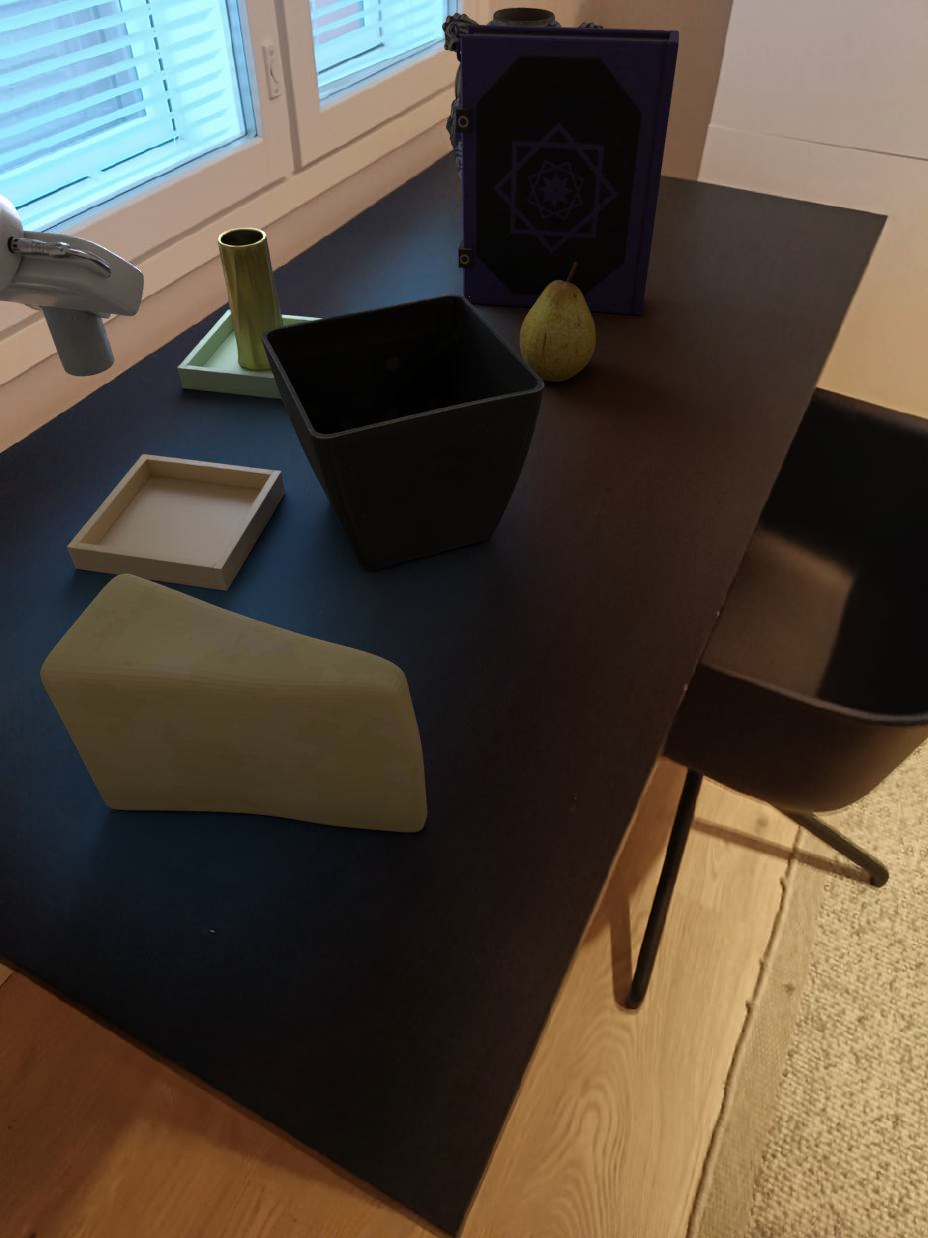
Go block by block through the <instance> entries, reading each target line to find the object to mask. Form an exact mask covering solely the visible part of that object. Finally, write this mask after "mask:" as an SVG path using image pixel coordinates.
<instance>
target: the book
mask: <svg viewBox="0 0 928 1238" xmlns="http://www.w3.org/2000/svg"><path fill="white" fill-rule="evenodd" d="M679 46H680V31H679V30H676V29H675V30H674V29H673V30H672V29H670V30H664V29H642V28H641V29H640V28H637V29H636V28H607V27H606V28H605V27H603V28H577V27H574V26H573V27H572V26H562V27H541V26H506V25H487V24H479V25H472V24H468V34H461V52H460V53H461V103H460V104H459V106H458V108H457V109H456V124H457V132H459V133H462V183H461V192H462V193H461V195H462V196H461V197H462V198H461V199H462V200H461V201H462V202H461V203H462V205H461V206H462V208H461V209H462V240H461V242H460V245H459V247H458V250H457V251H458V254H457V255H458V257H457V259H458V268H459V269H462V283H463V284H462V285H463V286H462V289H463V291H462V293H463V294H462V296H463V295H464V297H465V298H466V299H467V300H468V301H469V302H470V303H471V304H475V305H488V306H489V305H490V306H501V307H502V306H504V307H517V308H519V307H520V308H530V309H531V308H532V307H533V305H534V304H535V302H536V301H537V300H538V298H539V297H540V295H541V294H542V292H543V291H544V289H545V288H546V287H547V286H548V285H549V284H550V283H552V282H553V281H556V280H561V281H565V282H566V280H567V278H568V276H569V274H570V272H571V269H572V266H573V263H574V262H578V263H579V265H578V266H577V267H576V270H575V273H574V275H573V276H572V278H571V281H570V283H572V284H574V285H575V286H577V287H578V288H579V289H580V291H581V292H582V294H583V297H584V299H585V301H586V304H587V306H588V308H589V310H590V313H601V314H602V313H603V314H616V315H617V314H618V315H631V314H632V315H634V316H642V314H643V309H644V300H645V293H646V287H647V279H648V272H649V265H650V264H649V263H650V258H651V257H650V256H651V252H652V251H651V250H652V244H653V235H654V229H655V222H656V221H655V220H656V214H657V205H658V198H659V191H660V184H661V177H662V169H663V162H664V155H665V147H666V140H667V133H668V126H669V118H670V111H671V104H672V97H673V90H674V83H675V74H676V67H677V59H678V52H679ZM469 296H470V297H469Z"/></svg>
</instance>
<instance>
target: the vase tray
mask: <svg viewBox="0 0 928 1238" xmlns="http://www.w3.org/2000/svg"><path fill="white" fill-rule="evenodd" d="M281 315H282V319H283V324H284V326H287V325H292V324H297V323H302V322H307V321H313V320H318V319H323V318H320V317H311V316H299V315H290V314H289V315H288V314H281ZM176 368H177V373H178V377H179V380H180V383H181V387H182V389H186V390H187V389H188V390H195V391H207V392H215V393H223V394H231V395H241V396H251V397H259V398H268V399H277V400H282V398H281V395H280V392H279V390H278V387H277V384H276V381H275V379H274V376H273V373H272V370H271V369H270V370H251V369H247V368H245V367H243V366H241V365H240V364H239V362H238V350H237V343H236V337H235V331H234V327H233V322H232V317H231V311H230V309H227V310H226V311H225V313H223V315H222V316H221V317H220V318H219V320H217V322H216V323H215V324H214V325H213V326H212V328H211V329H210V330H209V331H208V332H207V333H206V334H205V336H204V337H203V338H202V339H201V340H200V341H199V343H197V344H196V346H195V347H194V348H193V349H192V350H191V352H190V353H189V354H188V355H187V356H186V357H185V358H184V360H182V362H181V363H180V364H179V365H178V366H177V367H176Z"/></svg>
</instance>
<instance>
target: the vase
mask: <svg viewBox="0 0 928 1238" xmlns="http://www.w3.org/2000/svg"><path fill="white" fill-rule="evenodd" d="M217 246H218V251H219V257H220V261H221V267H222V273H223V277H224V281H225V286H226V292H227V299H228V305H229V310H230V311H231V317H232V322H233V327H234V331H235V337H236V343H237V350H238V362H239V364H240V365H241V366H243V367H245V368H247V369H251V370H270V369H271V367H270V364H269V361H268V358H267V355H266V352H265V349H264V346H263V342H262V339H261V334H262V333H263V332H264V331H266V330H269V329H273V328H277V327H282V326H284V324H283V319H282V315H283V314H282V311H281V306H280V301H279V296H278V292H277V291H278V290H277V287H276V282H275V277H274V271H273V266H272V260H271V254H270V247H269V243H268V237H267V234H266V232H265V231H263V230H262V229H259V228H253V227H237V228H231V229H228V230H226V231H223V232H222V233H221V234H219V236H218V237H217Z"/></svg>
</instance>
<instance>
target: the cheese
mask: <svg viewBox="0 0 928 1238" xmlns="http://www.w3.org/2000/svg"><path fill="white" fill-rule="evenodd" d="M39 674H40V679H41V683H42V685H43V687H44V689H45V691H46V693H47V694H48V696H49V698H50V700H51V703H52V705H53V706H54V708H55V710H56V712H57V714H58V717H60V719H61V721H62V723H63V725H64V727H65V729H66V731H67V733H68V735H69V736H70V738H71V740H72V742H73V744H74V746H75V748H76V750H77V752H78V753H79V756H80V758H81V759H82V761H83V764H84V766H85V767H86V770H87V772H88V773H89V776H90V778H91V779H92V782H93V783H94V786H95V787H96V789H97V791H98V793H99V795H100V796H101V798H102V800H103V802H104V804H105V805H106V806H107V807H108V808H110V809H111V810H117V811H118V810H119V811H121V810H122V811H171V812H172V811H175V812H176V811H178V812H211V813H212V812H213V813H215V812H216V813H237V814H248V815H249V814H250V815H262V816H263V815H264V816H271V817H279V818H285V819H289V820H296V821H302V822H308V823H313V824H319V825H320V824H321V825H326V826H334V827H341V828H353V829H354V828H355V829H362V830H363V829H364V830H372V831H373V830H374V831H384V832H385V831H386V832H395V833H397V832H398V833H417V832H420V831H421V830H422V829H424V827H425V824H426V822H427V818H428V803H427V802H428V801H427V789H426V775H425V764H424V755H423V754H424V753H423V746H422V742H421V741H422V740H421V735H420V730H419V727H418V722H417V718H416V713H415V709H414V706H413V700H412V698H411V693H410V689H409V684H408V683H409V682H408V680H407V676H406V674H405V673H404V671H403V670H402V669H401V668H400V667H399V666H398V665H396V664H395V663H393V662H391V661H390V660H387V659H386V658H383V657H381V656H379V655H376V654H374V653H370V652H368V651H364V650H362V649H357V648H354V647H350V646H346V645H342V644H338V643H334V642H331V641H328V640H327V641H326V640H323V639H319V638H316V637H312V636H309V635H305V634H302V633H298V632H295V631H292V630H289V629H287V628H282V627H280V626H276V625H273V624H270V623H267V622H264V621H260V620H258V619H254V618H252V617H248V616H246V615H243V614H239V613H238V612H234V611H231V610H228V609H226V608H223V607H220V606H218V605H215V604H212V603H210V602H207V601H204V600H201V599H199V598H196V597H194V596H192V595H189V594H186V593H183V592H182V591H179V590H176V589H173V588H171V587H168V586H166V585H163V584H161V583H157V582H154V581H153V580H149V579H144V578H141V577H138V576H135V575H132V574H120V575H116V576H114V577H113V578H112V579H111V580H110V581H108V582H107V584H105V586H104V587H103V588H102V589H101V590H100V591H99V592H98V594H96V596H95V598H93V599H92V601H91V602H90V603H89V604H88V606H87V607H86V608H85V609H84V611H83V612H82V613H81V614H80V615H79V616H78V618H77V619H76V620H75V622H73V624H72V625H71V626H70V627H69V629H68V630H67V631H66V632H65V634H64V635H63V636H62V637H61V638H60V639H59V641H58V642H57V643H56V644H55V646H54V647H53V648H52V650H51V651H50V652H49V654H48V655H47V657H46V659H45V660H44V661H43V663H42V665H41V667H40V673H39Z"/></svg>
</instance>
